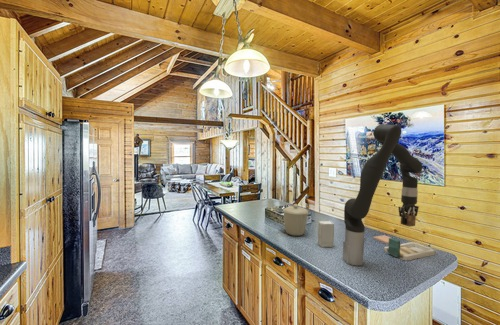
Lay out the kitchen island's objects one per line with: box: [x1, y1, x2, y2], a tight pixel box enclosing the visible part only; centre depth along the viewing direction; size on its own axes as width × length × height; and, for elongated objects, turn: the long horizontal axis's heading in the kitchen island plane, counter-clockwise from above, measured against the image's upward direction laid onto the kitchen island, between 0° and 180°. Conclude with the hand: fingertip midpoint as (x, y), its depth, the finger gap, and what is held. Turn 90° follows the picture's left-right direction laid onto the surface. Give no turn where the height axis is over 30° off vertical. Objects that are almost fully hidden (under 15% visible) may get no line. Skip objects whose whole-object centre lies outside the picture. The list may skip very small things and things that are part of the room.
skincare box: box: [317, 220, 335, 248], centre depth 137 cm, size 8×6×15 cm
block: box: [400, 214, 417, 227], centre depth 129 cm, size 5×5×6 cm
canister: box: [282, 203, 309, 237], centre depth 157 cm, size 18×18×21 cm
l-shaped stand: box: [388, 237, 417, 258], centre depth 127 cm, size 16×9×9 cm, turn 110°
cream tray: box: [383, 241, 437, 262], centre depth 130 cm, size 26×13×2 cm, turn 110°
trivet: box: [373, 234, 391, 245], centre depth 148 cm, size 10×10×1 cm
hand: (407, 223), depth 129 cm, fingers closed on block, 5 cm apart
